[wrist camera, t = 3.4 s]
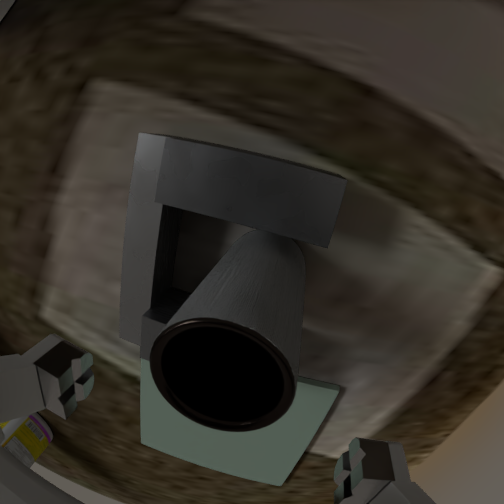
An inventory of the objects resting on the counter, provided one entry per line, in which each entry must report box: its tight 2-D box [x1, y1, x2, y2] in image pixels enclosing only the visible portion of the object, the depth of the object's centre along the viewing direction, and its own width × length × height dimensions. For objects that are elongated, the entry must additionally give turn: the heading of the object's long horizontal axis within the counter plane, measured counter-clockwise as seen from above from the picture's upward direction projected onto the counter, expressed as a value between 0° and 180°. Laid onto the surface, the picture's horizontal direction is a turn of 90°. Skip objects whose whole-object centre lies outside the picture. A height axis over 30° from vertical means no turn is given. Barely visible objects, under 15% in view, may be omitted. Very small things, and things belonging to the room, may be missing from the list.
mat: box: [140, 358, 339, 486], centre depth 23 cm, size 14×14×1 cm
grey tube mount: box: [120, 133, 348, 361], centre depth 17 cm, size 12×10×4 cm
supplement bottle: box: [0, 412, 53, 468], centre depth 25 cm, size 7×7×13 cm
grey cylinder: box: [149, 229, 306, 432], centre depth 14 cm, size 4×4×10 cm
